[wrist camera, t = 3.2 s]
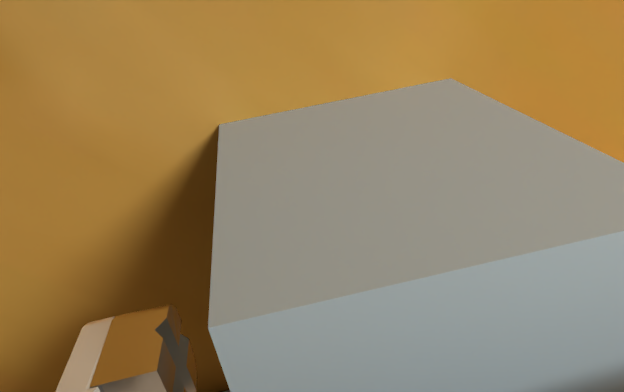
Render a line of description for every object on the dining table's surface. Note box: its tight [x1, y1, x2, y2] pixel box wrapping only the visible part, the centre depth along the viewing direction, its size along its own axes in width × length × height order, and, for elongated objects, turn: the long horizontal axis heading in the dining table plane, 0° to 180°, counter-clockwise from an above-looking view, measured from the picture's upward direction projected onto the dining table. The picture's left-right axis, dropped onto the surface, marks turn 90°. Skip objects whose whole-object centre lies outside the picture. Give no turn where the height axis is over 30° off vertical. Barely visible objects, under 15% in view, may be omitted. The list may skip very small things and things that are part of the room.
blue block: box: [208, 78, 624, 392], centre depth 8 cm, size 5×5×6 cm
